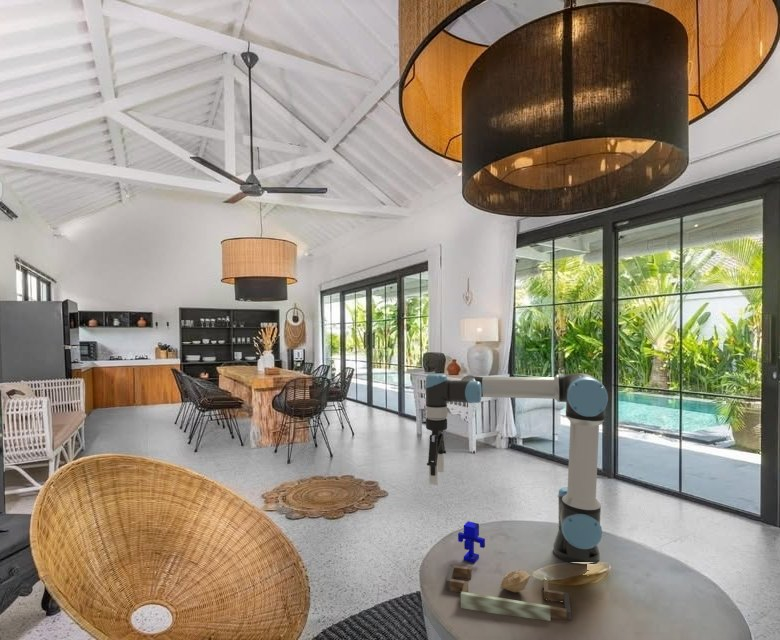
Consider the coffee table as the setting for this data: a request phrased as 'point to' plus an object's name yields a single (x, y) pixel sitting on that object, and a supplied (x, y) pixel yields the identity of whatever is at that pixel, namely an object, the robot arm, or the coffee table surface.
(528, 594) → the coffee table surface
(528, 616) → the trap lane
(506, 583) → the pottery oil lamp
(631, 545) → the coffee table surface
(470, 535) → the figurine
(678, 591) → the coffee table surface
